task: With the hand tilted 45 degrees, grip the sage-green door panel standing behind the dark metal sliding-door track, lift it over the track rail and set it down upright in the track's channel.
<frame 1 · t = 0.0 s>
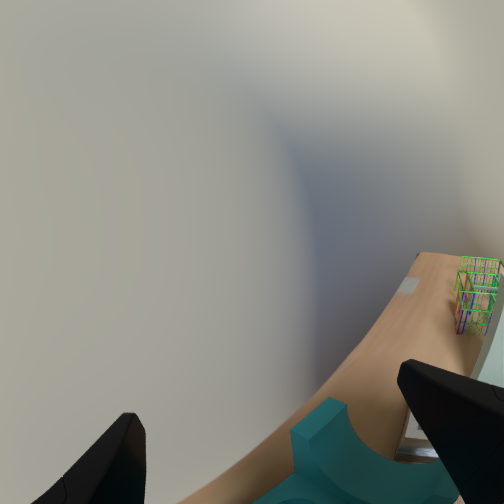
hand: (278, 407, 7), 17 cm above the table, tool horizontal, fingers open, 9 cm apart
door panel: (488, 387, 19), on the table
door track: (492, 433, 13), on the table
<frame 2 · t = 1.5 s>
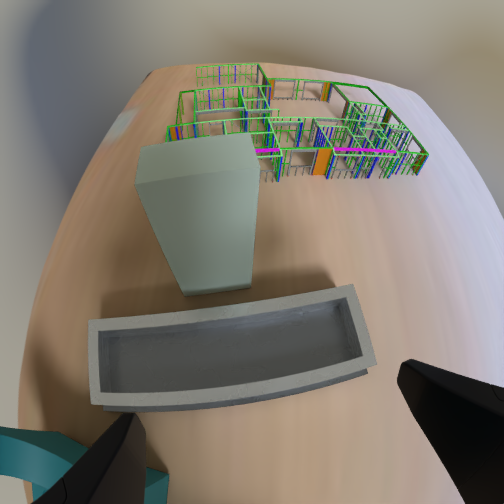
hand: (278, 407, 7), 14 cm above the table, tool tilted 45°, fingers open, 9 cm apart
door panel: (215, 277, 25), on the table
house model: (286, 120, 40), on the table
door track: (227, 358, 21), on the table
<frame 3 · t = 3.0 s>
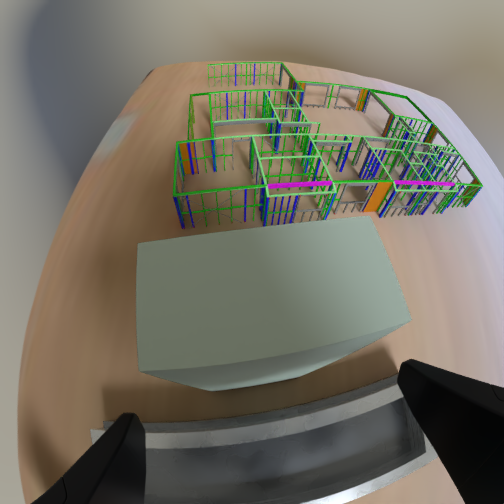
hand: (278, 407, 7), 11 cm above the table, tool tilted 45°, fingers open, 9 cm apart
door panel: (251, 365, 18), on the table
house model: (320, 134, 33), on the table
door track: (270, 463, 14), on the table
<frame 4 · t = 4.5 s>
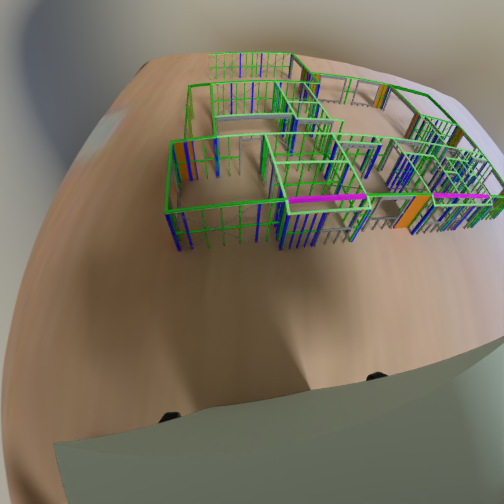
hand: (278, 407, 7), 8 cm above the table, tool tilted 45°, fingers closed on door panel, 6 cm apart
door panel: (265, 423, 13), on the table, touching gripper
house model: (339, 133, 28), on the table
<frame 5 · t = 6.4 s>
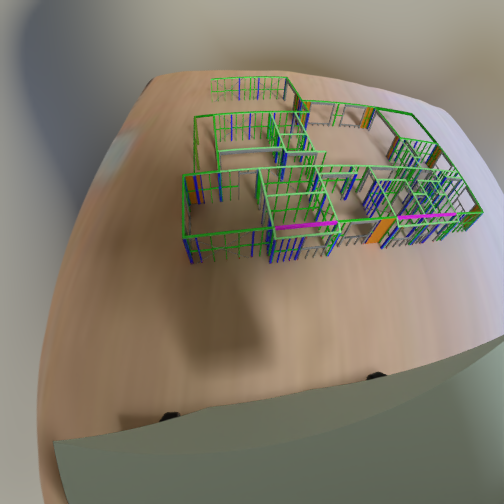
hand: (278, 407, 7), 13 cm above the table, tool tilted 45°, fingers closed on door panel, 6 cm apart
door panel: (265, 423, 13), point 6 cm above the table, touching gripper
house model: (325, 156, 33), on the table
when the fingers open (10 cm above the table, at t = 8.5 s): door panel drops 1 cm, resting on door track.
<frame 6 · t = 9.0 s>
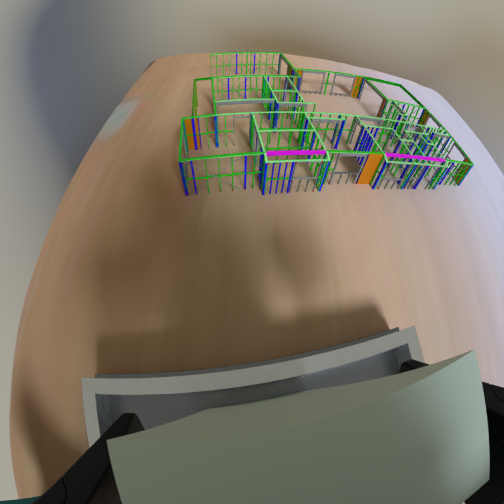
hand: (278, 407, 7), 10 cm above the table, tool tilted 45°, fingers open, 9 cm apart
door panel: (263, 422, 14), point 1 cm above the table, touching door track
house model: (317, 116, 34), on the table
door track: (262, 420, 15), on the table
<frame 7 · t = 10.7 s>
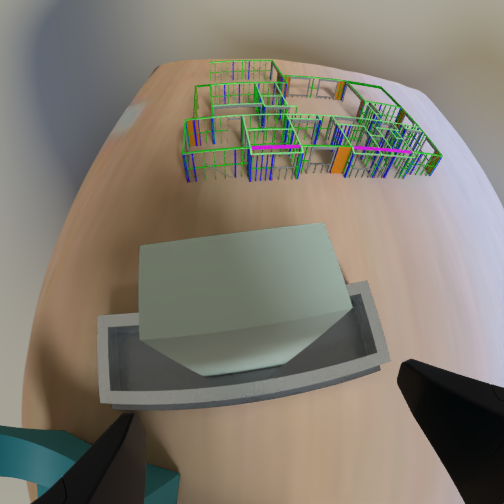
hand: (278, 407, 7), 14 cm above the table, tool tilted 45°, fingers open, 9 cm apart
door panel: (240, 353, 20), point 1 cm above the table, touching door track
house model: (301, 117, 39), on the table
door track: (240, 355, 21), on the table
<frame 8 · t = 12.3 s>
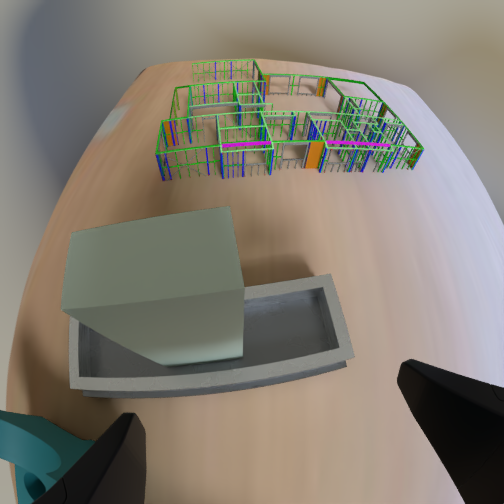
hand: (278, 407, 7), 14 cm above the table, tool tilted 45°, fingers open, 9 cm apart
door panel: (201, 344, 20), point 1 cm above the table, touching door track
house model: (280, 115, 40), on the table
door track: (203, 347, 21), on the table
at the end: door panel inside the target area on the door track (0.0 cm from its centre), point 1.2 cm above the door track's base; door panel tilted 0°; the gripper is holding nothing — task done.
